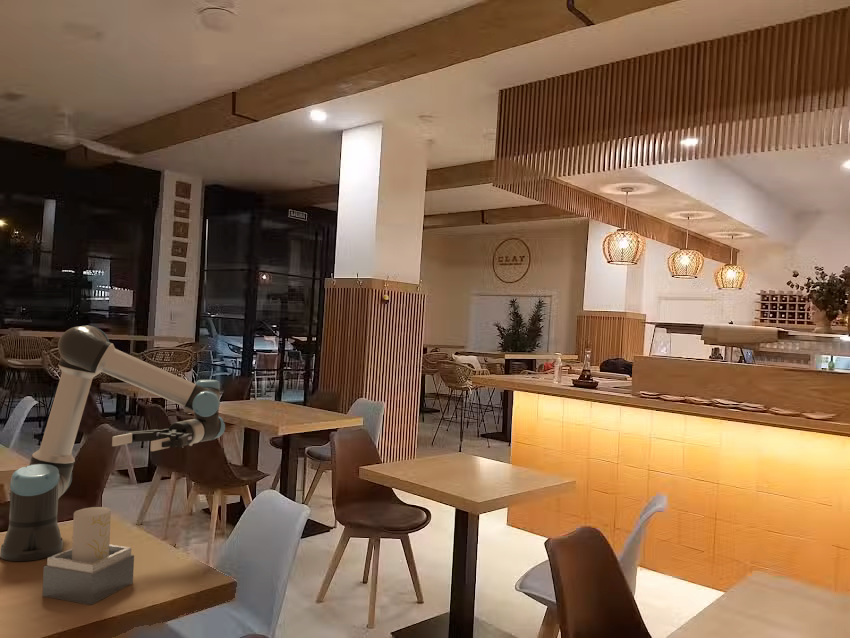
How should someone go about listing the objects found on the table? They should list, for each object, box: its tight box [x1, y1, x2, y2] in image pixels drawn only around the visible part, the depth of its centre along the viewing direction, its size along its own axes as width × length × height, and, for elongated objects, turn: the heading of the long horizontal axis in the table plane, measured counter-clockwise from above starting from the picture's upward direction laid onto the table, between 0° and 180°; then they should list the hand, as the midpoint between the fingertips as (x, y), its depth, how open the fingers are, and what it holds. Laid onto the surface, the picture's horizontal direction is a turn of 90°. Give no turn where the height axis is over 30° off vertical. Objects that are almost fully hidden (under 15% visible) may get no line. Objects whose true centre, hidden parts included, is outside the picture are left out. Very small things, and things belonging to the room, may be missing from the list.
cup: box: [71, 506, 112, 563], centre depth 161 cm, size 8×8×12 cm
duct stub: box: [42, 543, 135, 606], centre depth 161 cm, size 14×14×9 cm
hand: (132, 443), depth 182 cm, fingers open, 13 cm apart
